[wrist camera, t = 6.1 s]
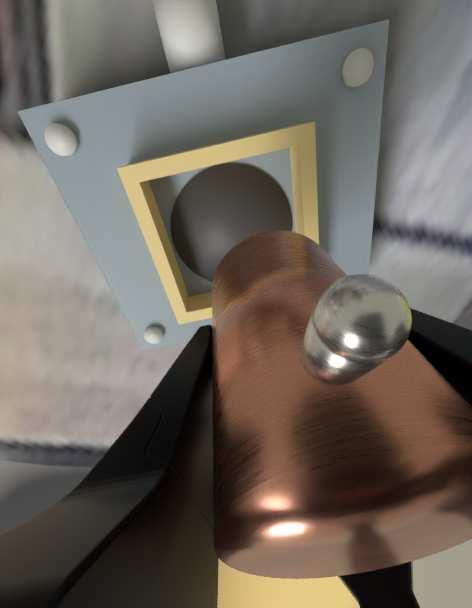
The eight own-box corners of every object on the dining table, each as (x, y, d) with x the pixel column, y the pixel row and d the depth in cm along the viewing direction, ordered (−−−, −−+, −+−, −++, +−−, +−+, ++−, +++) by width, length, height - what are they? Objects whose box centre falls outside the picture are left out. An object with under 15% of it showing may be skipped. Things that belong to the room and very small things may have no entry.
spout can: (332, 325, 12) (474, 554, 6) (225, 345, 13) (243, 591, 6) (334, 160, 9) (751, 263, 2) (183, 193, 9) (97, 390, 2)
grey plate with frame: (344, 281, 24) (379, 320, 19) (152, 321, 25) (137, 369, 20) (353, -34, 14) (432, -128, 9) (27, 51, 15) (-69, 7, 10)
